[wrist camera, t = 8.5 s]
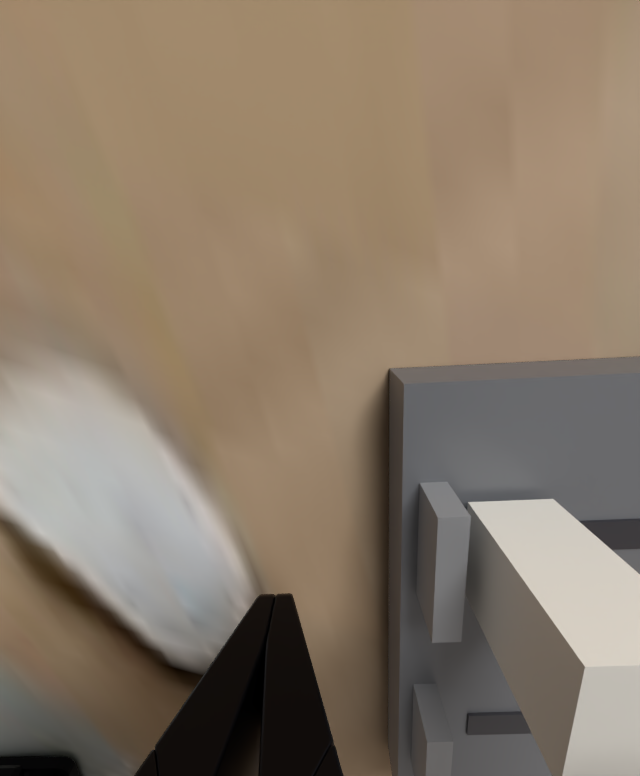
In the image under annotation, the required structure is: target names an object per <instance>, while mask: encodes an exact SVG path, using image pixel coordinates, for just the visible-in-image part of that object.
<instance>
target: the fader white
mask: <svg viewBox="0 0 640 776" xmlns="http://www.w3.org/2000/svg"><path fill="white" fill-rule="evenodd" d="M467 511H468V513H469V514H470V516H471V523H470V536H469V549H468V562H467V575H466V587H465V595H466V597H467V599H468V601H469V604H470V606H471V608H472V610H473V612H474V614H475V616H476V618H477V620H478V622H479V624H480V626H481V628H482V631H483V633H484V635H485V637H486V639H487V641H488V643H489V645H490V647H491V649H492V651H493V653H494V656H495V658H496V660H497V662H498V664H499V666H500V668H501V670H502V672H503V674H504V676H505V678H506V681H507V683H508V685H509V687H510V689H511V691H512V693H513V695H514V697H515V699H516V701H517V703H518V706H519V708H520V710H521V712H522V714H523V716H524V718H525V720H526V722H527V724H528V726H529V728H530V730H531V733H532V735H533V737H534V739H535V741H536V743H537V745H538V747H539V749H540V751H541V753H542V755H543V758H544V760H545V762H546V764H547V766H548V768H549V770H550V772H551V774H552V776H640V574H639V573H638V572H636V571H635V570H634V569H633V568H632V567H631V566H630V565H628V564H627V563H626V562H625V561H624V560H623V559H622V558H620V557H619V556H618V555H617V554H616V553H615V552H614V551H612V550H611V549H610V548H609V547H608V546H607V545H606V544H604V543H603V542H602V541H601V540H600V539H599V538H598V537H596V536H595V535H594V534H593V533H592V532H591V531H589V530H588V529H587V528H586V527H585V526H584V525H583V524H581V523H580V522H579V521H578V520H577V519H576V518H575V517H573V516H572V515H571V514H570V513H569V512H568V511H567V510H565V509H564V508H563V507H562V506H561V505H560V504H559V503H557V502H556V501H555V500H554V499H535V500H510V501H485V502H468V508H467Z"/></svg>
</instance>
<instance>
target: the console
mask: <svg viewBox="0 0 640 776" xmlns="http://www.w3.org/2000/svg"><path fill="white" fill-rule="evenodd" d="M535 499H554V500H555V501H556V502H557V503H559V504H560V505H561V506H562V507H563V508H564V509H565V510H567V511H568V512H569V513H570V514H571V515H572V516H573V517H575V518H576V519H577V520H578V521H579V522H580V523H581V524H583V525H584V526H585V527H586V528H587V529H588V530H589V531H591V532H592V533H593V534H594V535H595V536H596V537H598V538H599V539H600V540H601V541H602V542H603V543H604V544H606V545H607V546H608V547H609V548H610V549H611V550H612V551H614V552H615V553H616V554H617V555H618V556H619V557H620V558H622V559H623V560H624V561H625V562H626V563H627V564H628V565H630V566H631V567H632V568H633V569H634V570H635V571H636V572H638V573H639V574H640V357H620V358H600V359H579V360H558V361H537V362H516V363H495V364H475V365H454V366H433V367H412V368H391V369H390V379H389V643H388V749H389V756H390V763H391V770H392V776H552V774H551V772H550V770H549V768H548V766H547V764H546V762H545V760H544V758H543V755H542V753H541V751H540V749H539V747H538V745H537V743H536V741H535V739H534V737H533V735H532V733H531V730H530V728H529V726H528V724H527V722H526V720H525V718H524V716H523V714H522V712H521V710H520V708H519V706H518V703H517V701H516V699H515V697H514V695H513V693H512V691H511V689H510V687H509V685H508V683H507V681H506V678H505V676H504V674H503V672H502V670H501V668H500V666H499V664H498V662H497V660H496V658H495V656H494V653H493V651H492V649H491V647H490V645H489V643H488V641H487V639H486V637H485V635H484V633H483V631H482V628H481V626H480V624H479V622H478V620H477V618H476V616H475V614H474V612H473V610H472V608H471V606H470V604H469V601H468V599H467V597H466V595H465V587H466V575H467V562H468V549H469V536H470V523H471V516H470V514H469V513H468V511H467V508H468V502H485V501H510V500H535Z"/></svg>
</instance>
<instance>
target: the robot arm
mask: <svg viewBox="0 0 640 776" xmlns="http://www.w3.org/2000/svg"><path fill="white" fill-rule="evenodd" d="M0 776H80V775H79V772H78V769H77V767H76V764H75V762H74V761H73V760H72V759H71V758H68V757H63V756H59V757H18V758H0ZM134 776H343V773H342V769H341V766H340V762H339V759H338V755H337V751H336V748H335V746H334V742H333V738H332V734H331V731H330V727H329V723H328V720H327V716H326V713H325V709H324V706H323V702H322V698H321V695H320V691H319V688H318V684H317V680H316V677H315V673H314V670H313V666H312V663H311V659H310V655H309V652H308V648H307V645H306V641H305V638H304V634H303V630H302V627H301V623H300V620H299V616H298V612H297V609H296V605H295V602H294V598H293V595H292V594H290V593H287V594H277V595H276V596H275V595H274V594H261V595H259V596H258V597H257V598H256V600H255V601H254V603H253V604H252V606H251V607H250V609H249V610H248V612H247V613H246V614H245V616H244V617H243V619H242V620H241V622H240V623H239V625H238V626H237V628H236V629H235V630H234V632H233V633H232V635H231V636H230V638H229V639H228V641H227V642H226V644H225V645H224V646H223V648H222V649H221V651H220V652H219V654H218V655H217V657H216V658H215V660H214V661H213V662H212V664H211V665H210V667H209V668H208V670H207V671H206V673H205V674H204V675H203V677H202V678H201V680H200V681H199V683H198V684H197V686H196V687H195V689H194V690H193V691H192V693H191V694H190V696H189V697H188V699H187V700H186V702H185V703H184V705H183V706H182V707H181V709H180V710H179V712H178V713H177V715H176V716H175V718H174V719H173V721H172V722H171V723H170V725H169V726H168V728H167V729H166V731H165V732H164V734H163V735H162V736H161V738H160V739H159V741H158V742H157V744H156V745H155V750H152V751H151V752H150V754H149V755H148V756H147V758H146V759H145V761H144V762H143V764H142V765H141V767H140V768H139V770H138V771H137V773H136V774H135V775H134Z"/></svg>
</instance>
